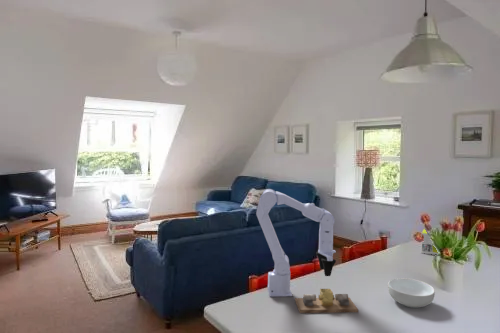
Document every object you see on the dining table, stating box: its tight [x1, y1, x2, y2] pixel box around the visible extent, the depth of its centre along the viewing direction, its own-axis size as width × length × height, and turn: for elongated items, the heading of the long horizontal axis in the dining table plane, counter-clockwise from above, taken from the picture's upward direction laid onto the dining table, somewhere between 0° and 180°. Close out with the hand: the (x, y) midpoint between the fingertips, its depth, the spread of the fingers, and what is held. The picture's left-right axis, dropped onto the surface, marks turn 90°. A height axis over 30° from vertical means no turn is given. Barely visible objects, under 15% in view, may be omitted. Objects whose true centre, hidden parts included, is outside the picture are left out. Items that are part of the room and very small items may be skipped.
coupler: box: [318, 288, 335, 306], centre depth 137 cm, size 6×4×5 cm
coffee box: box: [420, 228, 438, 256], centre depth 208 cm, size 12×12×12 cm
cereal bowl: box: [387, 277, 436, 309], centre depth 140 cm, size 17×17×7 cm
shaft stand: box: [294, 293, 359, 314], centre depth 137 cm, size 22×10×5 cm, turn 92°
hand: (325, 272), depth 148 cm, fingers open, 7 cm apart
